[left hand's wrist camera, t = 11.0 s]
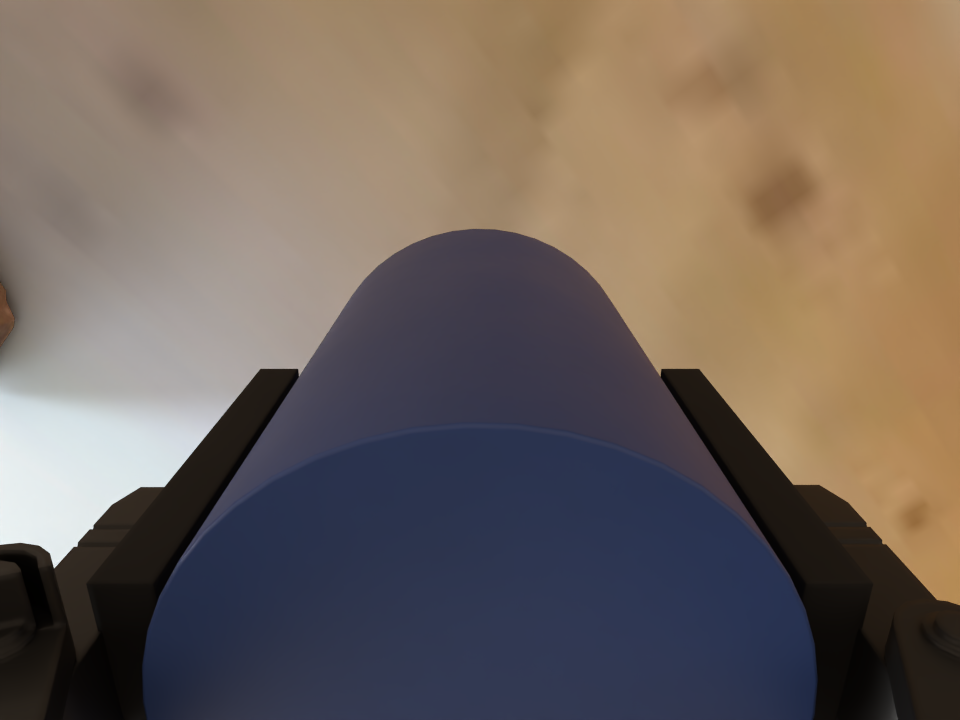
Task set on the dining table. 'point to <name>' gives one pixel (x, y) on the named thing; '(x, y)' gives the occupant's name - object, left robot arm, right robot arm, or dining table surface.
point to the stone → (5, 316)
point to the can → (479, 525)
